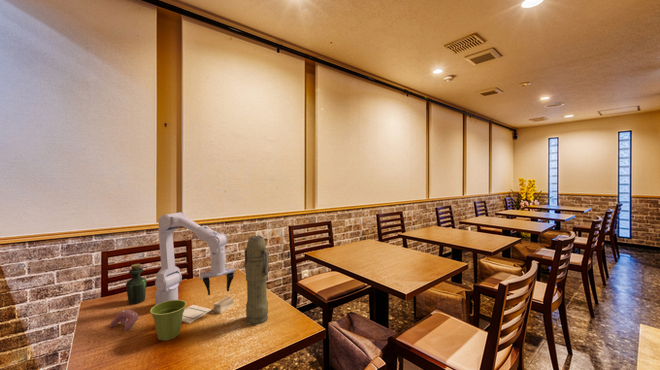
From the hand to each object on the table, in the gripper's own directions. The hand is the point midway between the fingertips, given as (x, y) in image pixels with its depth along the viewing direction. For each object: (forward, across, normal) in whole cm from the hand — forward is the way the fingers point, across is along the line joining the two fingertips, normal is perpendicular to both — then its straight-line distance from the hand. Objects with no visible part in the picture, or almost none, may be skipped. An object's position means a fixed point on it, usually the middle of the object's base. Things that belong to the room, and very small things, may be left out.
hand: (218, 292), depth 118 cm
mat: (+10, -11, +7) cm, 16 cm away
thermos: (+10, +14, -12) cm, 21 cm away
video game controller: (+10, -34, +9) cm, 37 cm away
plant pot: (+10, -18, -8) cm, 22 cm away
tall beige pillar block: (+10, +3, +4) cm, 11 cm away
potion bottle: (+10, -33, +33) cm, 48 cm away
